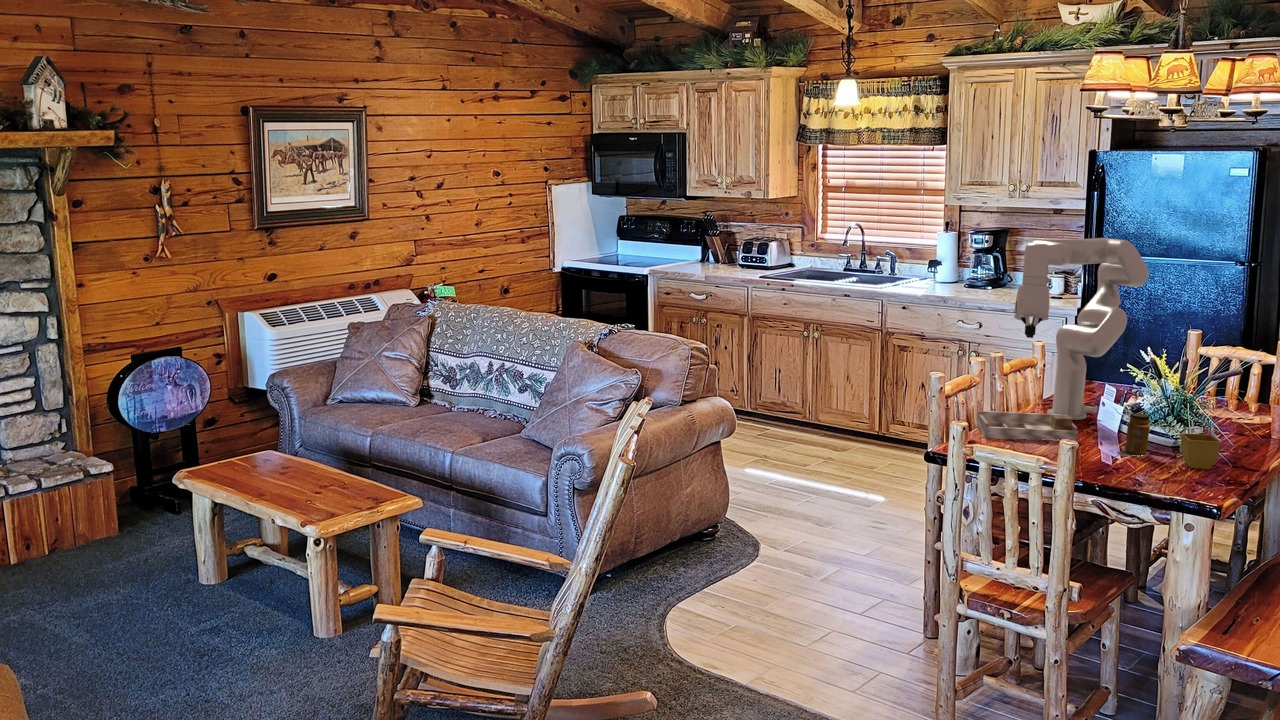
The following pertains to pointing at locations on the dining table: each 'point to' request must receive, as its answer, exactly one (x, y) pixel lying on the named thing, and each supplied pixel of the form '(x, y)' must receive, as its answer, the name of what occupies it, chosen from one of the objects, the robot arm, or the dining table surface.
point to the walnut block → (1061, 422)
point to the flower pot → (1199, 450)
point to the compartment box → (1021, 426)
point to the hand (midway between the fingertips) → (1029, 337)
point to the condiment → (1137, 435)
